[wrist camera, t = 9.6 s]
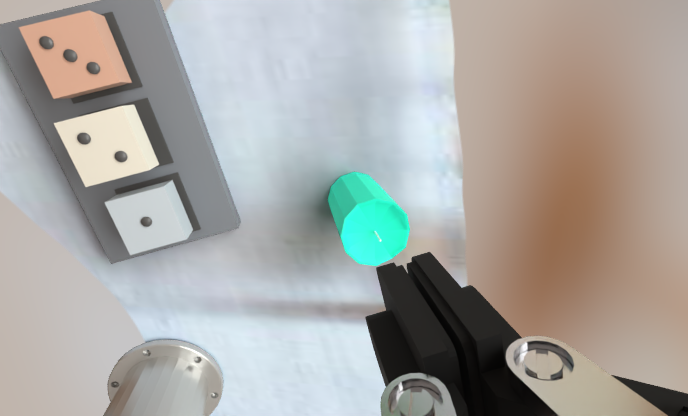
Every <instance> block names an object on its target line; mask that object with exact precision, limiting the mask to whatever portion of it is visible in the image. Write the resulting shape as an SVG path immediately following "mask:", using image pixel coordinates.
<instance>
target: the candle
mask: <svg viewBox="0 0 688 416" xmlns="http://www.w3.org/2000/svg"><path fill="white" fill-rule="evenodd" d="M328 203H329V206H330V209H331V212H332V215H333V218H334V221H335V223H336V226H337V229H338V232H339V235H340V238H341V240H342V243H343V246H344V249H345V252H346V253H347V254H348V255H349V256H350V257H352V258H353V259H354V260H355V261H356V262H358V263H359V264H365V265H373V266H377V265H379V264H381V263H383V262H386V261H388V260H390V259H392V258H393V257H395V256H396V255H397V254H398V253H399V252H401V251H402V250H403V249H404V248H406V244H407V240H408V236H409V231H410V228H409V222H408V217H407V214H406V213H405V212H404V211H403V210H402V209H401V208H400V207H399V206H398V205H397V203H396V202H395V201H394V200H393V199H392V198H391V197H390V196H389V195H388V194H387V193H386V192H385V191H384V190H383V189H382V188H381V187H380V186H379V184H378V183H376V182H375V181H374V180H373V179H372V178H371V177H370V176H369V175H367V174H363V173H358V172H352V173H349V174H346V175H343V176H340V177H339V179H338V180H337V181H336V182H335V183H334V184H333V185H332V186H331V188H330V192H329V197H328Z"/></svg>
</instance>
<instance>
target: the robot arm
mask: <svg viewBox="0 0 688 416" xmlns="http://www.w3.org/2000/svg"><path fill="white" fill-rule="evenodd" d="M376 269H377V274H378V279H379V283H380V287H381V291H382V295H383V299H384V303H385V307H386V311H383V312H380V313H376V314H373V315H370V316H366V322H367V326H368V329H369V333H370V337H371V341H372V344H373V348H374V351H375V354H376V358H377V361H378V364H379V367H380V370H381V373H382V376H383V379H384V383H385V386H386V388H385V390H384V392H383V394H382V396H381V415H382V416H688V394H686V393H682V392H678V391H674V390H670V389H666V388H662V387H658V386H654V385H650V384H646V383H642V382H638V381H634V380H629V379H626V378H621V377H618V376H614V375H610V374H609V373H607V372H606V371H604V370H603V369H602V368H600V367H599V366H597V365H596V364H595V363H593V362H592V361H590V360H588V358H586V357H585V356H583V355H582V354H581V353H579V352H578V351H576V350H575V349H573V348H572V347H571V346H569V345H567V344H565V343H564V342H562V341H560V340H557V339H554V338H550V337H544V336H527V337H524V338H521V336H520V335H519V334H518V333H517V332H516V331H515V330H514V329H513V328H512V327H511V326H510V325H509V324H508V323H507V322H506V321H505V319H504V318H503V317H502V316H501V315H500V314H499V313H498V312H497V311H496V310H495V309H494V308H493V307H492V306H491V305H490V303H489V302H488V301H487V300H486V299H485V298H484V297H483V296H482V295H481V294H480V293H479V292H478V291H477V290H476V289H475V288H474V287H473V286H470V285H469V286H466V287H463V288H461V287H460V286H459V284H458V283H457V282H456V281H455V280H454V279H453V278H452V276H451V275H450V274H449V273H448V272H447V271H446V270H445V268H444V267H443V266H442V265H441V264H440V263H439V262H438V260H437V259H436V258H435V257H434V256H433V255H432V254H431V253H430V252H428V253H424V254H421V255H417V256H414V257H412V262H411V263H407V270H408V273H407V272H406V270H405V269H404V267H403V266H402V265H400V266H396V265H395V263H390V264H387V265H383V266H380V267H377V268H376ZM222 391H223V376H222V372H221V370H220V367H219V365H218V364H217V362H216V361H215V360H214V358H213V357H212V356H210V355H209V354H208V353H207V352H206V351H204V350H203V349H201V348H199V347H198V346H195V345H193V344H190V343H188V342H183V341H178V340H155V341H151V342H147V343H143V344H141V345H139V346H136V347H134V348H133V349H131V350H130V351H128V352H127V353H125V354H124V356H122V357H121V358H120V360H119V361H118V363H117V364H116V365H115V367H114V368H113V370H112V372H111V374H110V376H109V380H108V395H109V398H110V401H111V403H110V405H109V407H108V408H107V410H106V412H105V414H104V415H103V416H209V415H210V414H211V413H212V412H213V411H214V410H215V408H216V407H217V405H218V403H219V401H220V399H221V395H222Z"/></svg>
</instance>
